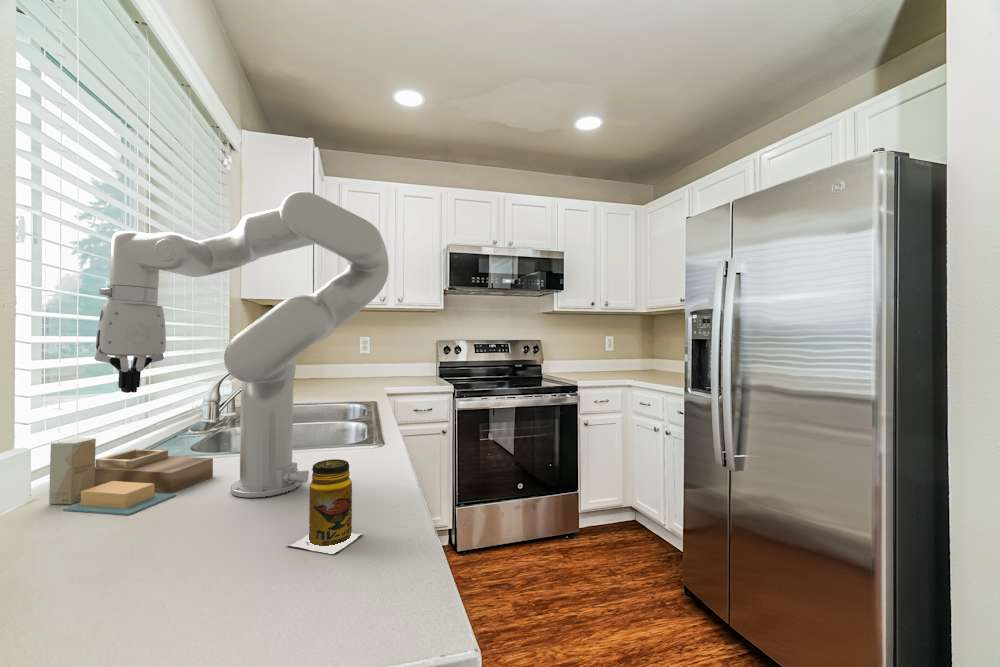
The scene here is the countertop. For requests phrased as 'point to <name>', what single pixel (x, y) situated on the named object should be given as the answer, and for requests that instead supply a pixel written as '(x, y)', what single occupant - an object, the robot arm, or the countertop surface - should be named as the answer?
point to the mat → (122, 511)
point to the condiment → (330, 503)
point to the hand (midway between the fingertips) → (128, 391)
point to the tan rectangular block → (117, 494)
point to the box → (71, 469)
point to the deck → (153, 469)
